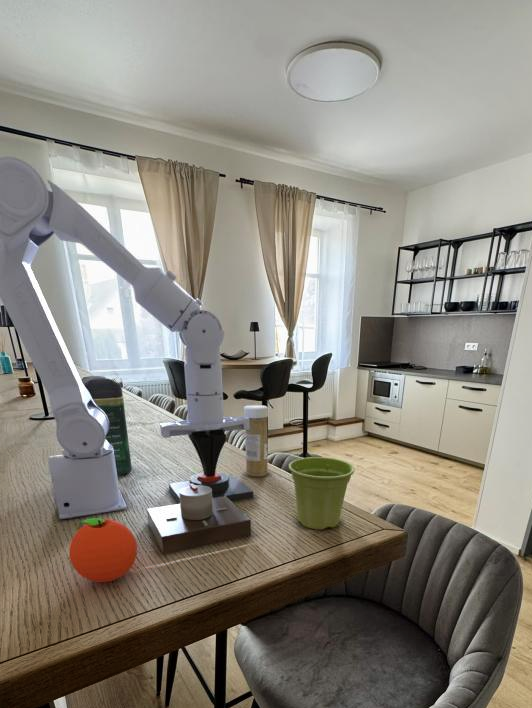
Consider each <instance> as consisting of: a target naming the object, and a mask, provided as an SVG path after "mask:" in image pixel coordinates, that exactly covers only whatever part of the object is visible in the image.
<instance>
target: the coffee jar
mask: <svg viewBox="0 0 532 708" xmlns="http://www.w3.org/2000/svg"><path fill="white" fill-rule="evenodd" d="M80 379H81V381H82V383H83V385H84V386H85V387H86V389H87V390H88V392H89V393H90V395H91V397H92V399H93V401H94V403H95V404H96V405H97V406H98V407H99V408H100V409H101V410H103V411H104V413H105V414H106V415H107V417H108V420H109V430H108V433H107V434H106V437H105V439H106V440H107V442H108V443H109V444H111V445H112V446H113V450H114V457H115V464H116V471H117V477H120V476H122V475H125V474H130V473H131V472H132V469H133V467H132V459H131V451H130V442H129V435H128V426H127V417H126V410H125V401H124V394H123V388H122V384H121V383H120V382H118V381H115V380H113V379H111V378H107V377H106V376H103V375H102V376H101V375H90V376H83V377H82V378H80Z"/></svg>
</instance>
